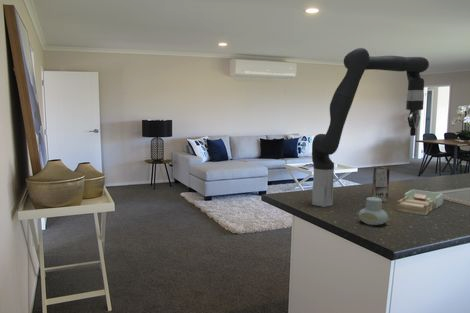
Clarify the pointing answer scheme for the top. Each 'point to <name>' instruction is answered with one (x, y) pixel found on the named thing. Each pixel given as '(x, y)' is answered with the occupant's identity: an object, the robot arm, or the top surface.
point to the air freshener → (373, 212)
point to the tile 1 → (420, 197)
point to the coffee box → (380, 183)
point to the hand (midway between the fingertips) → (412, 135)
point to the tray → (433, 195)
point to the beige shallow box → (415, 206)
